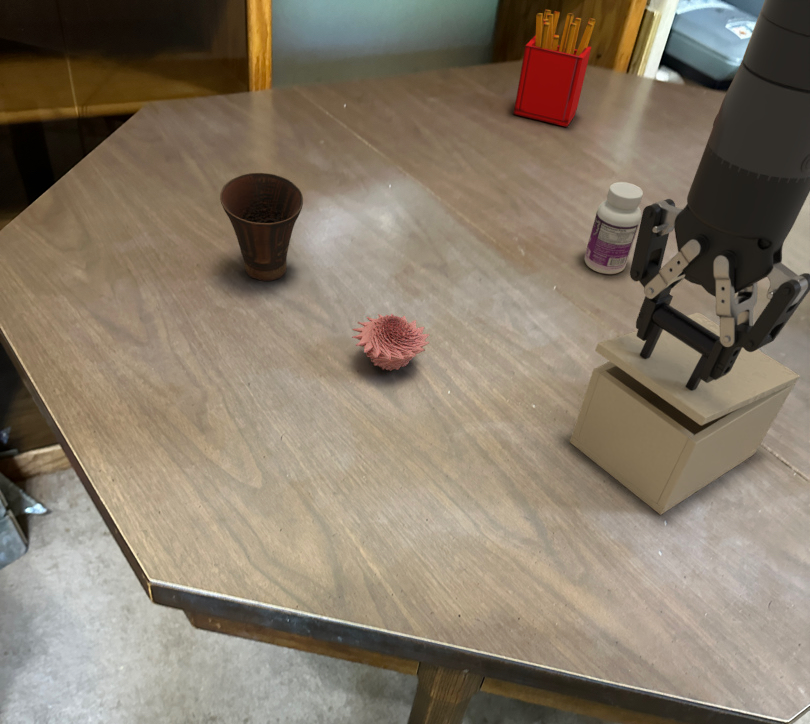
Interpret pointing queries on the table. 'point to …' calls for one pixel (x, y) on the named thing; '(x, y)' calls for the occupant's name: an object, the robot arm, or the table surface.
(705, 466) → the tan wooden box
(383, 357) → the flower
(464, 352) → the table surface
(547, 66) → the french fries container
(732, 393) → the box lid
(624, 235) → the pill bottle
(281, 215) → the cup
